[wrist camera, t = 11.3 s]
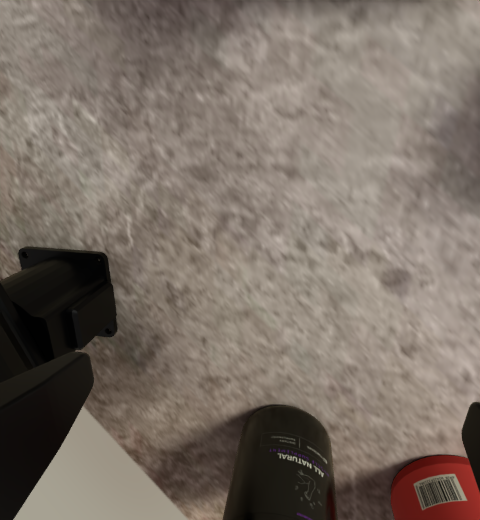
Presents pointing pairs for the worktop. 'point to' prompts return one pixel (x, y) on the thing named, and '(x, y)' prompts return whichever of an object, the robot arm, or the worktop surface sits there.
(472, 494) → the canned food
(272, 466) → the supplement bottle
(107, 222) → the worktop surface
